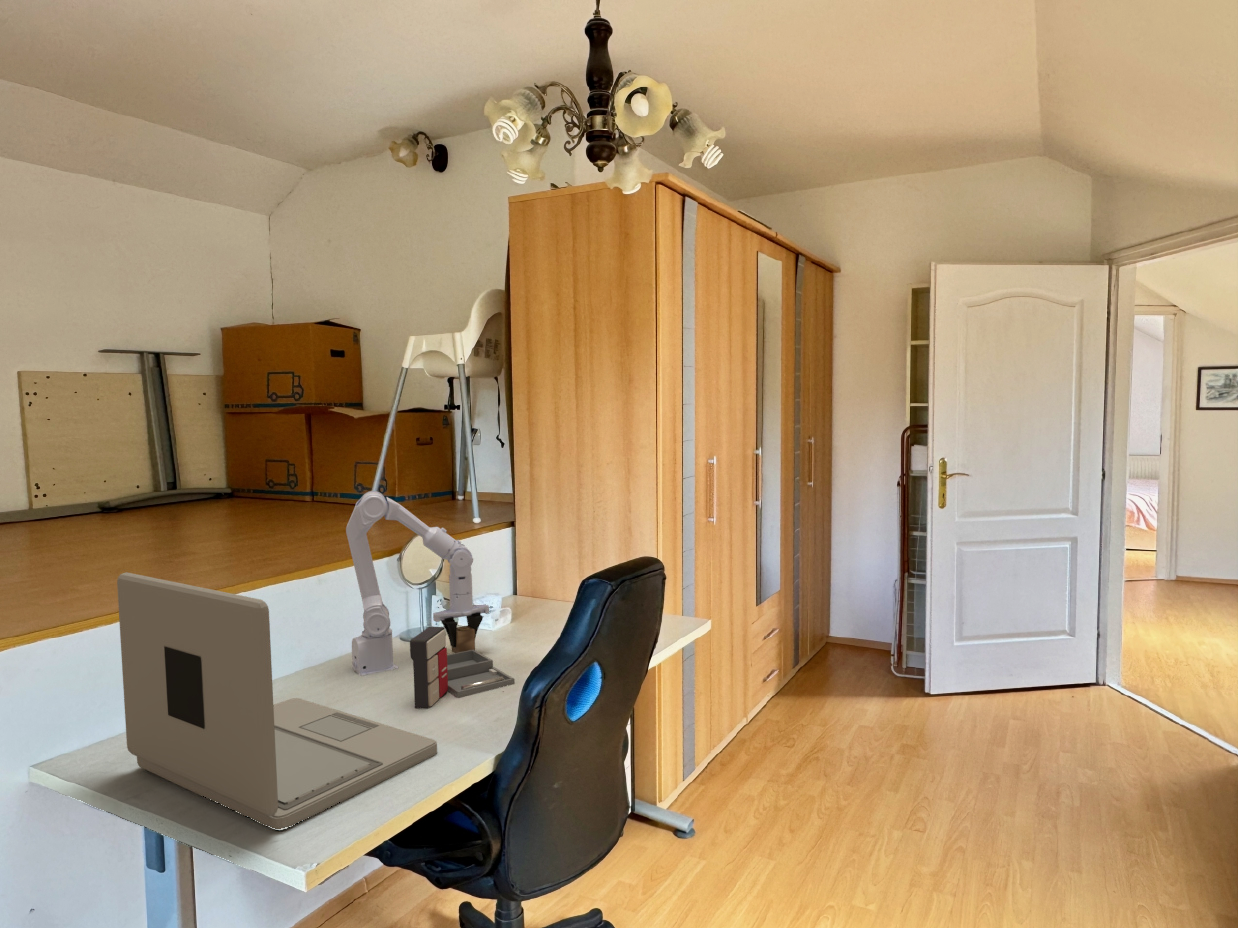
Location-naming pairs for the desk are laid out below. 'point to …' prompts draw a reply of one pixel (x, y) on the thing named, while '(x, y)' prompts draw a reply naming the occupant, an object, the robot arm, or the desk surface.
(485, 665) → the case
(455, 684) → the case lid open
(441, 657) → the drawer chest
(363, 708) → the desk surface
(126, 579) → the laptop
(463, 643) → the module block
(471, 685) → the rod
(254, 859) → the desk surface
